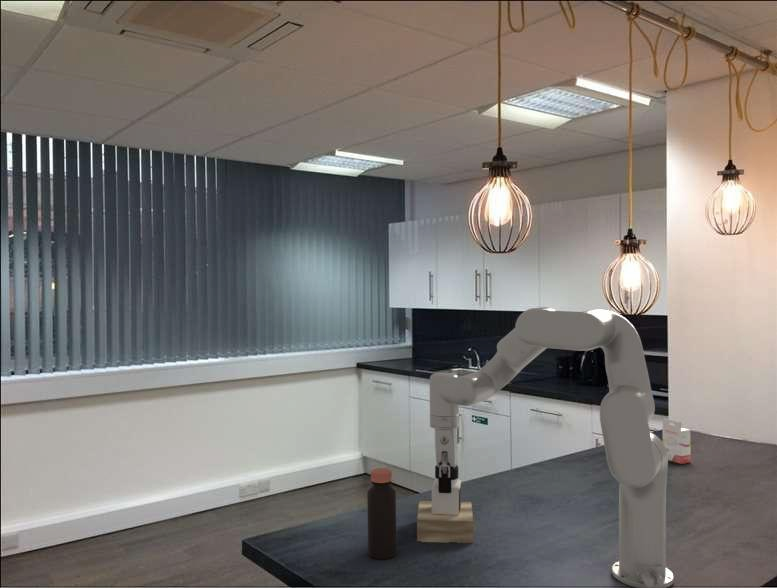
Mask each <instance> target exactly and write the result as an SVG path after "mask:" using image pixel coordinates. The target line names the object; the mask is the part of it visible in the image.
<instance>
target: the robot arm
mask: <svg viewBox="0 0 777 588" xmlns="http://www.w3.org/2000/svg"><path fill="white" fill-rule="evenodd" d="M598 348H601V349H602V351H603V353H604V366H605V372H606V376H607V382H608V389H609V392H608V393H606V395H605V396H604V397H603V398H602V400H601V403H600V406H599V422H600V427H601V434H602V439H603V445H604V450H605V456H606V461H607V466H608V468H609V471H610V473H611V475H612V476H613V478H614V479H615V480H616V481H617V482H618V483H619V490H618V491H619V492H618V498H619V499H618V545H619V547H618V548H619V549H618V559H619V560H618V561H617V562H615V563H614V564H612V566H611V574H612V576H613V577H614V578H615V579H617V581H619V582H620V583H622V584H624V585H627V586H630V587H633V588H669V587H671V586H672V585H673V584H674V581H675V580H674V579H675V578H674V577H675V576H674V574H673V572H672V571H671V570H670V569H668V567H667V551H666V550H667V542H666V541H667V537H666V536H667V535H666V532H667V527H666V526H667V525H666V524H667V514H666V513H667V479H668V465H669V460H668V455H667V450H666V448H665V445H664V444H663V440H662V439H661V438H660V437H659V436H657V435H656V434H655V433H653V432H651V431H650V426H649V422H650V421H651V420H653V417H654V415H655V412H656V405H655V400H654V396H653V392H652V387H651V381H650V377H649V371H648V367H647V362H646V357H645V352H644V348H643V344H642V340H641V337H640V334H639V332H638V331H637V329H636V328H635V326H634V325H633V324H632V323H631V322H630V321H629V319H627V318H626V317H624V316H623V315H621V314H618V313H616V312H613V311H612V310H611V311H610V310H606V309H599V308H598V309H595V308H594V309H588V310H585V311H583V310H582V311H568V310H556V309H554V308H552V307H547V306H542V307H535V308H533V307H531V308H528V309H527V310H525V311H523V312H522V313H520V314H519V316H518V318H517V320H516V321H515V327H514V328H513V329H512V330H511V331H510V332H508V334H506V335H505V336H504V337H503V338H501V339H500V340H499V341H498V342H497V344H496V350H497V351H496V353H495V354H494V356H493V357H492V358H491V359H490V360H489V361H488V362H487V363H485V365H483V366H482V367H481V368H480V369H478V370H477V371H476V372H472V373H469V374H465V375H460V376H458V375H457V374H456V373H453V372H435V373H433V374H431V375H430V376H429V427H430V428H431V429H434V451H435V460H436V465H437V467H439V477H438V485H439V493H451V477H450V466H451V467H453V468H455V467H456V465H457V459H456V457H457V449H456V448H457V446H456V444H457V443H456V442H457V441H456V440H457V439H456V429H458V428H459V427H460V406H462V407H470V406H474V405H476V404H479V403H481V402H483V401H487V400H488V399H490V398H492V397H493V396H495V395H496V394H497V393H498V392H500V390H501V389H503V388H504V387H506V385H507V384H509V383H510V382H511V381H512V380H513V379H514V378H515V377H516V376H517V375H518V374H519V373H520V372H521V371H522V370H523V369H524V368H525V367H526V366H527V365H529V364H530V363H531V362H532V361H533V360H534V359H535V358H537V357H538V356H539V355H540V354H542V353H543V352H545V350H547V349H555V350H566V351H578V352H579V351H580V352H581V351H585V352H586V351H592V350H595V349H598ZM448 462H449V465H447V464H448ZM441 464H442V465H441ZM441 476H442V477H441Z"/></svg>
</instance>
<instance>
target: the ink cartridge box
mask: <svg viewBox="0 0 777 588" xmlns="http://www.w3.org/2000/svg"><path fill="white" fill-rule="evenodd" d="M671 424H674V425H671ZM662 442H663V444H664V445H665V448H666V450H667V455H668V462H673V463H677V464H679V465H683V464H690V463H691V460H692V459H691V458H692V457H691V453H692V452H691V450H692V449H691V446H692V445H691V429H688V428H685V427H684V428H683V427H682V422H681V421H677V420H673V419H669V418H663V419H662Z"/></svg>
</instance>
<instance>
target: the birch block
mask: <svg viewBox="0 0 777 588" xmlns="http://www.w3.org/2000/svg"><path fill="white" fill-rule="evenodd" d="M416 516H417V517H416V542H417V541H421V542H420V543H449V542H458V543H457V544H459V543H460V544H475V543H474V514H473V506H472V501H461V508H460V514H459V515H443V514H432V500H419V501H418V508H417V515H416ZM461 542H462V543H461Z"/></svg>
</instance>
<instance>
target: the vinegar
mask: <svg viewBox="0 0 777 588" xmlns="http://www.w3.org/2000/svg"><path fill="white" fill-rule="evenodd" d="M392 479H393V478H392V470H391V469H390V468H381V467H379V468H374V469H371V471H370V481H371V484H372V486H371V487H370V488H369V489H368V490H367V493H366V494H367V496H366V497H367V498H366V499H367V500H366V501H367V554H368V556H370V557H371V558H372V559H375V560H388V559H391V558H394V556H396V554H397V513H396V512H397V496H396V495H397V494H396V493H397V492H396V489H394V488H393V487H392V485H391V484H392Z"/></svg>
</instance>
